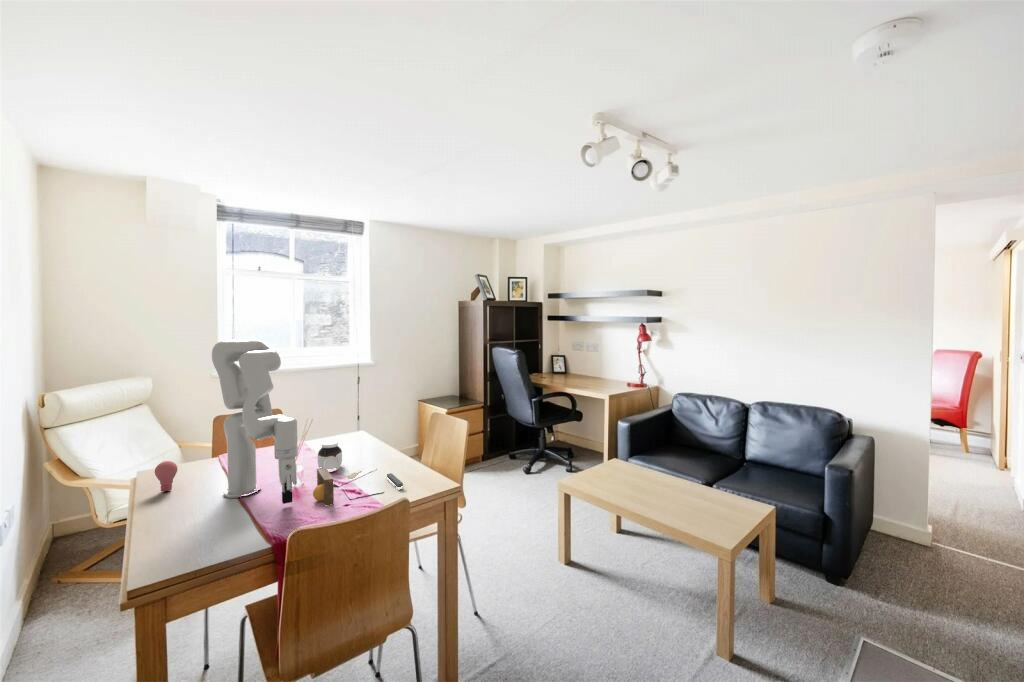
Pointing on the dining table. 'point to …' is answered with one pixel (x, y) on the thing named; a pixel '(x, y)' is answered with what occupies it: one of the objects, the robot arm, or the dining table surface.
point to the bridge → (326, 485)
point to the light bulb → (166, 474)
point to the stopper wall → (395, 480)
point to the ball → (319, 492)
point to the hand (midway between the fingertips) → (287, 502)
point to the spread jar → (330, 455)
